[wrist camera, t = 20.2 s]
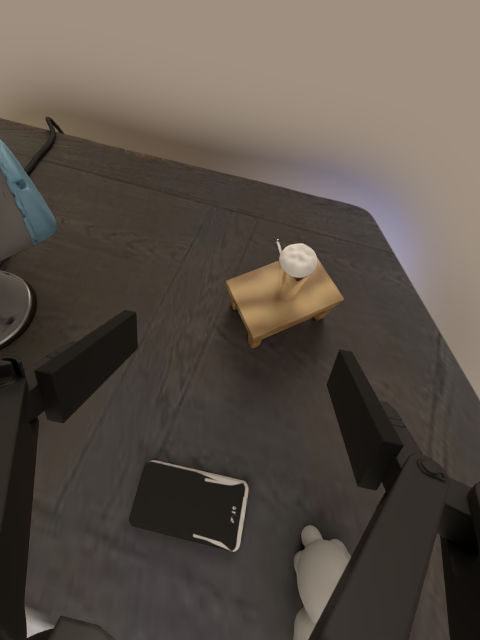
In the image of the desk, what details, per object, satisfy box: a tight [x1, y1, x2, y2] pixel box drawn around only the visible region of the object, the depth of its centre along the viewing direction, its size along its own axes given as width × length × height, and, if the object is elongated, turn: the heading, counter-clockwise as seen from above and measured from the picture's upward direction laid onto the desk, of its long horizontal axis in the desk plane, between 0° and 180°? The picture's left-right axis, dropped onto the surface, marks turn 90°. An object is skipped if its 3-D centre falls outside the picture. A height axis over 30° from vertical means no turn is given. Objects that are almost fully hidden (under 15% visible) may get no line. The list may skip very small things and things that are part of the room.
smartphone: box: [129, 460, 248, 552], centre depth 34 cm, size 8×1×15 cm
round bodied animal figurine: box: [293, 525, 351, 640], centre depth 27 cm, size 7×12×8 cm, turn 151°
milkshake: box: [276, 240, 317, 301], centre depth 32 cm, size 4×5×10 cm
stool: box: [226, 258, 344, 349], centre depth 41 cm, size 10×15×8 cm, turn 114°
